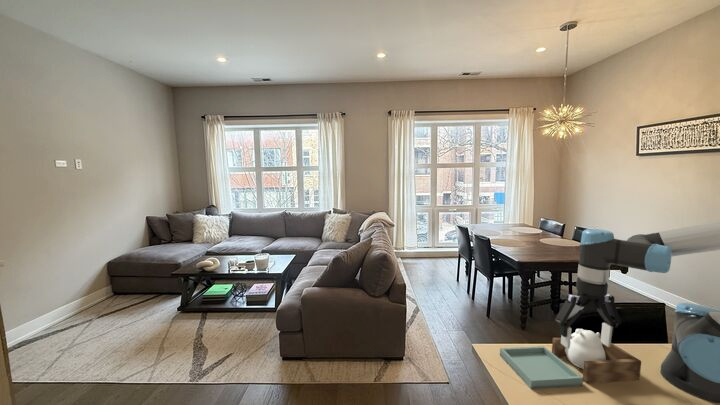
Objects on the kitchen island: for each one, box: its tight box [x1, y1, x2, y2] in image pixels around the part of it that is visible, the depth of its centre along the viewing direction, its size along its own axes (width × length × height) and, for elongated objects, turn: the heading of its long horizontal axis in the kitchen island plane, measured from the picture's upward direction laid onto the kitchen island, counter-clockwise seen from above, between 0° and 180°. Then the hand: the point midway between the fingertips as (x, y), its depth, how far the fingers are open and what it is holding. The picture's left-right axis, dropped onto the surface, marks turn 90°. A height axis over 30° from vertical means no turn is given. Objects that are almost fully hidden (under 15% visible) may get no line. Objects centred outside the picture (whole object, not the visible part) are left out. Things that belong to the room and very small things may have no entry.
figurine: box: [565, 328, 606, 370], centre depth 92 cm, size 10×10×12 cm
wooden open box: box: [551, 335, 642, 384], centre depth 92 cm, size 17×14×6 cm
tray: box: [499, 345, 584, 390], centre depth 91 cm, size 16×16×2 cm
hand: (585, 345), depth 92 cm, fingers open, 13 cm apart
